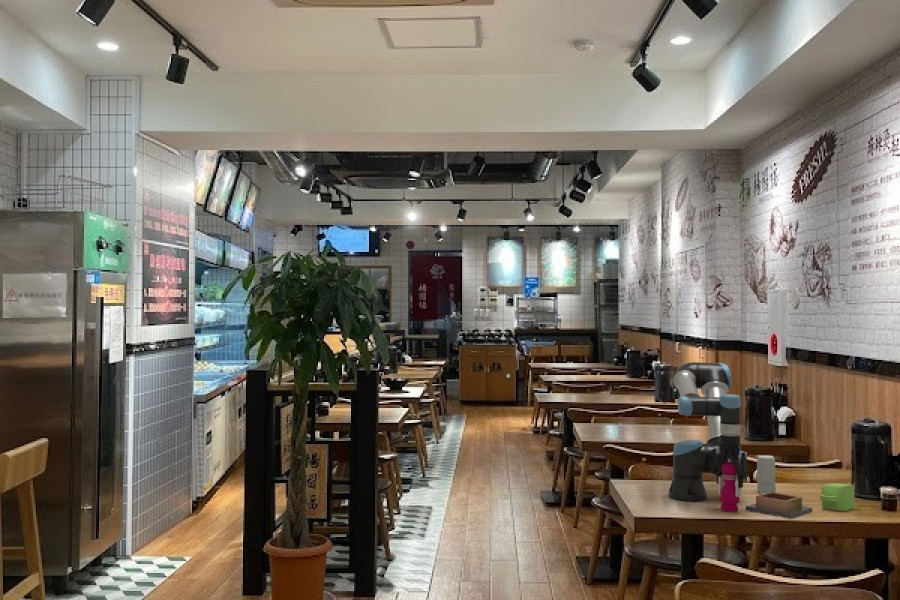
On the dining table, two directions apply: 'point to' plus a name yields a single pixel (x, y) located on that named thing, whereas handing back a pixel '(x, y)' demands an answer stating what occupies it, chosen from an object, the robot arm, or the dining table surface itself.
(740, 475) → the robot arm
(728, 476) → the pepper mill
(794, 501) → the plate
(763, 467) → the skincare box
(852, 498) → the green bread box
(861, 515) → the dining table surface
